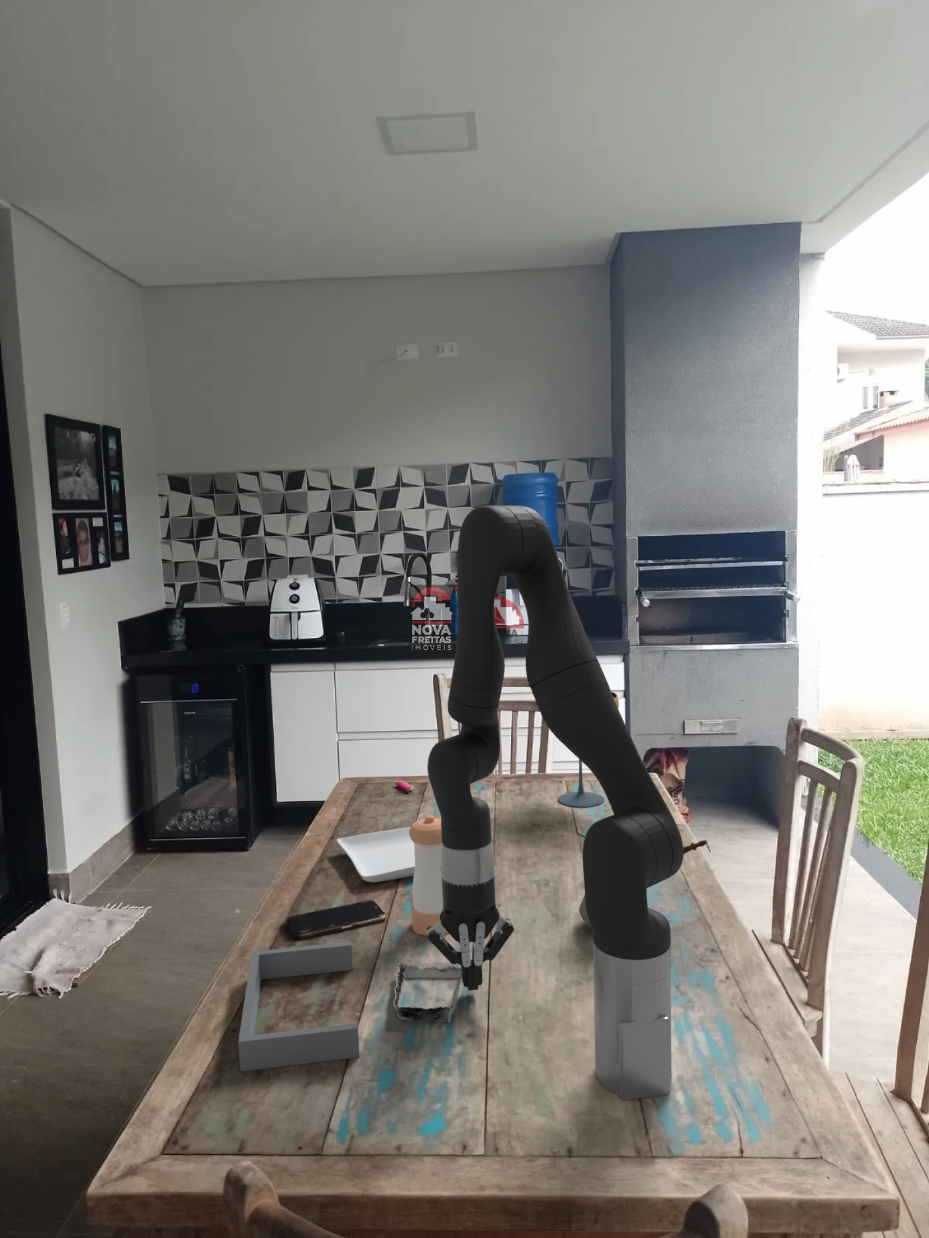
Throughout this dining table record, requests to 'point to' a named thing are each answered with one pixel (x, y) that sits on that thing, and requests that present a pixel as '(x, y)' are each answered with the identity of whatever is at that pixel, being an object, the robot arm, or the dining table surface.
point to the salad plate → (381, 854)
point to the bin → (294, 1043)
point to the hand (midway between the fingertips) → (472, 987)
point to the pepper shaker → (427, 874)
